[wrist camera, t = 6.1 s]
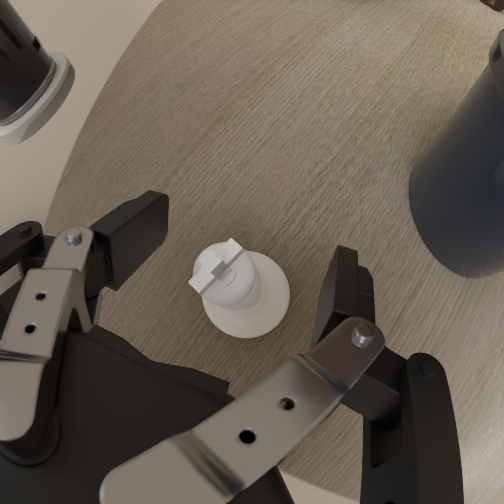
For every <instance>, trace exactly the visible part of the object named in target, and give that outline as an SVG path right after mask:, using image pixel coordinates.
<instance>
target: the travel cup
mask: <svg viewBox="0 0 504 504" xmlns="http://www.w3.org/2000/svg"><path fill="white" fill-rule="evenodd" d="M409 199H410V206H411V211H412V215H413V218H414V221H415V224H416V226H417V229H418V231H419V233H420V235H421V237H422V239H423V241H424V242H425V244H426V245H427V247H428V248H429V250H430V251H431V252H432V254H433V255H434V256H435V257H436V258H437V259H438V260H439V261H440V262H441V263H442V264H443V265H444V266H446V267H447V268H448V269H450V270H451V271H453V272H455V273H457V274H459V275H461V276H465V277H468V278H484V277H487V276H491V275H494V274H498V273H501V272H504V29H503V30H501V31H500V33H499V34H498V36H497V38H496V39H495V41H494V43H493V44H492V46H491V48H490V51H489V63H488V64H487V66H486V67H485V69H484V70H483V72H482V73H481V75H480V76H479V78H478V79H477V81H476V82H475V83H474V85H473V86H472V88H471V89H470V91H469V92H468V93H467V95H466V96H465V98H464V99H463V101H462V102H461V103H460V105H459V106H458V107H457V109H456V110H455V112H454V113H453V114H452V116H451V117H450V118H449V120H448V121H447V122H446V124H445V125H444V126H443V128H442V129H441V130H440V132H439V133H438V134H437V136H436V137H435V138H434V140H433V141H432V142H431V143H430V145H429V146H428V147H427V149H426V150H425V151H424V152H423V154H422V155H421V156H420V157H419V159H418V160H417V162H416V163H415V165H414V167H413V170H412V173H411V177H410V183H409Z"/></svg>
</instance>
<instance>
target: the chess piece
mask: <svg viewBox="0 0 504 504" xmlns="http://www.w3.org/2000/svg"><path fill="white" fill-rule="evenodd" d="M188 283H189V284H190V285H191V286H192V287H193V288H194V289H195V290H196V291H197V292H198V293H199V294H200V295H201V296H202V300H203V305H204V308H205V311H206V313H207V315H208V317H209V318H210V320H211V321H212V322H213V323H214V325H215V326H216V327H218V328H219V329H220V330H221V331H223V332H225V333H226V334H229V335H231V336H234V337H238V338H254V337H259V336H262V335H264V334H266V333H268V332H270V331H271V330H273V329H274V328H275V327H276V326H277V325H278V324H279V323H280V322H281V320H282V319H283V317H284V316H285V314H286V312H287V309H288V306H289V301H290V288H289V283H288V280H287V278H286V275H285V274H284V272H283V270H282V269H281V268H280V267H279V265H278V264H277V263H276V262H274V261H273V260H272V259H271V258H269V257H267V256H266V255H263V254H261V253H258V252H254V251H246V250H245V249H243V248H242V247H241V246H240V245H239V244H238V243H237V242H235V241H234V240H233V239H232V238H230V239H229V240H228V241H227V242H222V243H216V244H213V245H211V246H209V247H207V248H206V249H205V250H203V251H202V252H201V253H200V255H199V256H198V257H197V259H196V261H195V264H194V267H193V277H192V278H191V279H190V280H189V281H188Z"/></svg>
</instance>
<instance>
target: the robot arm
mask: <svg viewBox="0 0 504 504" xmlns="http://www.w3.org/2000/svg"><path fill="white" fill-rule="evenodd" d="M35 36H36V35H35ZM35 36H34V34H33V33H32V32H31V31H30V29H29V28H28V26H27V25H26V24H25V22H24V21H23V20H22V18H21V17H20V16H19V14H18V13H17V12H16V10H15V9H14V8H13V6H12V5H11V3H10V2H9V1H8V0H0V126H6V125H9V124H11V123H13V122H14V121H16V120H17V119H19V118H20V117H21V116H23V115H24V114H25V113H26V112H27V111H28V110H29V109H30V108H31V107H32V106H33V105H34V104H35V103H36V102H37V101H38V100H39V99H40V97H41V96H42V95H43V94H44V92H45V91H46V89H47V88H48V86H49V85H50V83H51V81H52V80H53V77H54V75H55V72H56V67H57V66H56V62H55V61H54V60H53V58H52V57H51V56H50V55H49V54H48V53H47V52H46V51H45V49H44V48H43V46H42V44H41V42H40V40H39V38H38V37H37V36H36V37H35ZM168 210H169V197H168V195H167V194H163V193H160V192H156V191H152V190H149V191H147V192H146V193H144V194H143V195H141V196H140V197H138V198H137V199H133V200H130V201H127V202H124V203H123V204H121V205H120V206H118V207H117V208H116V209H114V210H112V211H111V212H110V213H109V214H107V215H105V216H104V217H102V218H101V219H100V220H98V221H97V222H95V223H94V224H93V225H91V226H90V227H89V228H87V227H84V226H73V227H69V228H66V229H64V230H62V231H61V232H59V233H58V234H57V236H56V237H54V236H45V235H43V231H42V226H41V224H40V223H39V222H35V221H27V222H23V223H20V224H18V225H16V226H15V227H13V228H12V229H10V230H8V231H7V232H5V233H4V234H2V235H1V236H0V276H1V275H2V274H3V273H5V272H6V271H8V270H9V269H10V268H12V267H13V266H14V265H16V264H17V265H18V269H19V272H20V275H21V278H22V279H20V280H19V281H18V282H16V283H15V284H14V285H13V286H11V287H10V288H9V289H8V290H6V291H5V292H4V293H3V294H1V295H0V341H1V342H0V504H295V503H294V502H293V499H292V497H291V495H290V493H289V491H288V489H287V487H286V484H285V482H284V480H283V478H282V476H281V474H280V471H279V469H278V466H280V465H281V464H282V463H283V462H284V461H285V460H286V459H287V458H288V457H289V456H290V455H292V454H293V453H294V452H295V451H296V450H297V449H298V448H299V447H300V446H301V445H302V444H303V443H304V442H305V441H306V440H307V439H308V438H309V437H310V436H311V435H312V434H313V433H314V431H315V430H316V429H317V428H318V427H319V426H320V425H321V424H322V423H323V422H324V421H325V420H326V419H327V418H328V417H329V416H330V415H331V414H332V412H333V411H334V410H335V409H336V408H337V407H338V406H339V405H340V404H341V403H342V404H343V405H345V406H347V407H349V408H350V409H352V410H354V411H356V412H357V413H359V414H361V415H363V459H362V480H361V494H360V504H464V494H463V478H462V467H461V457H460V449H459V442H458V435H457V428H456V422H455V416H454V411H453V405H452V400H451V395H450V390H449V386H448V381H447V377H446V373H445V370H444V368H443V366H442V365H441V364H440V362H439V361H438V360H437V359H436V358H434V357H433V356H431V355H429V354H426V353H415V354H413V355H411V356H410V357H409V359H408V360H407V359H405V358H403V357H402V356H400V355H398V354H396V353H394V352H393V351H391V350H390V349H388V348H387V347H386V346H385V339H384V336H383V334H382V332H381V330H380V329H379V328H378V327H377V326H376V325H375V306H374V298H373V297H374V290H373V278H372V276H371V274H370V273H369V271H368V269H367V268H365V267H362V266H359V265H358V252H357V251H356V250H353V249H350V248H347V247H344V246H341V245H338V246H337V248H336V250H335V252H334V255H333V258H332V260H331V263H330V266H329V268H328V271H327V273H326V276H325V278H324V281H323V284H322V287H321V291H320V296H319V302H318V308H317V313H316V319H315V325H314V330H313V335H312V341H311V346H310V351H309V352H308V353H306V354H305V355H304V356H303V355H302V354H301V353H297V354H295V355H293V356H292V357H291V358H289V359H288V360H287V361H286V362H284V363H283V364H282V365H281V366H279V367H278V368H277V369H276V370H274V371H273V372H272V373H270V374H269V375H268V376H266V377H265V378H264V379H262V380H261V381H260V382H259V383H257V384H256V385H254V386H253V387H252V388H250V389H249V390H248V391H246V392H245V393H244V394H242V395H241V396H239V397H238V398H237V399H235V398H234V397H233V396H231V395H230V394H228V388H229V384H230V382H228V381H225V380H222V379H219V378H216V377H214V376H211V375H208V374H206V373H203V372H200V371H198V370H195V369H193V368H187V367H181V366H175V365H170V364H164V363H159V362H155V361H152V360H150V359H148V358H147V357H146V356H144V355H143V354H142V353H141V352H139V351H138V350H137V349H136V348H134V347H133V346H132V345H131V344H130V343H128V342H127V341H126V340H125V339H124V338H122V337H120V336H118V335H116V334H114V333H112V332H110V331H108V330H106V329H104V328H102V327H100V326H98V322H99V315H100V309H101V303H102V289H103V288H104V287H105V286H106V287H108V288H110V289H113V290H115V291H117V290H118V289H119V288H120V287H121V286H122V285H123V283H124V282H125V281H126V280H127V279H128V278H129V277H130V276H131V275H132V274H133V273H134V272H135V271H136V270H137V269H138V268H139V267H140V266H141V265H142V264H143V263H144V262H145V261H146V260H147V259H148V258H149V257H150V256H151V254H152V253H153V252H154V251H155V250H156V249H157V248H158V247H159V246H160V245H161V244H162V243H163V242H164V240H165V238H166V235H167V231H168Z"/></svg>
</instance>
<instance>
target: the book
mask: <svg viewBox="0 0 504 504" xmlns="http://www.w3.org/2000/svg"><path fill="white" fill-rule="evenodd" d="M480 1H482V2H483V3H485V4H486V5H488V6H489V7H491V8H492V9H496V10H497V11H502V10H503V9H504V0H480Z"/></svg>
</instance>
